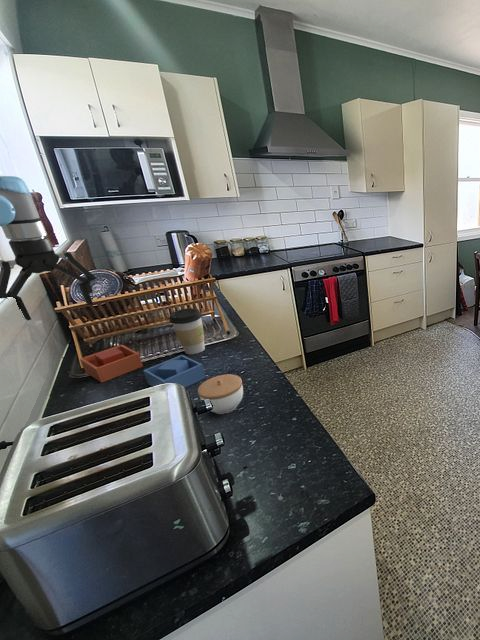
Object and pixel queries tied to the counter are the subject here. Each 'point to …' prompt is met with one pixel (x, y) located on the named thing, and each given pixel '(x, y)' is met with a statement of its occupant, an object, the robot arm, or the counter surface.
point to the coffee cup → (189, 329)
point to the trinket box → (222, 392)
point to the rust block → (109, 356)
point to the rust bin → (112, 364)
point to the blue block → (172, 368)
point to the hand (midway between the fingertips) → (60, 311)
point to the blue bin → (184, 378)
